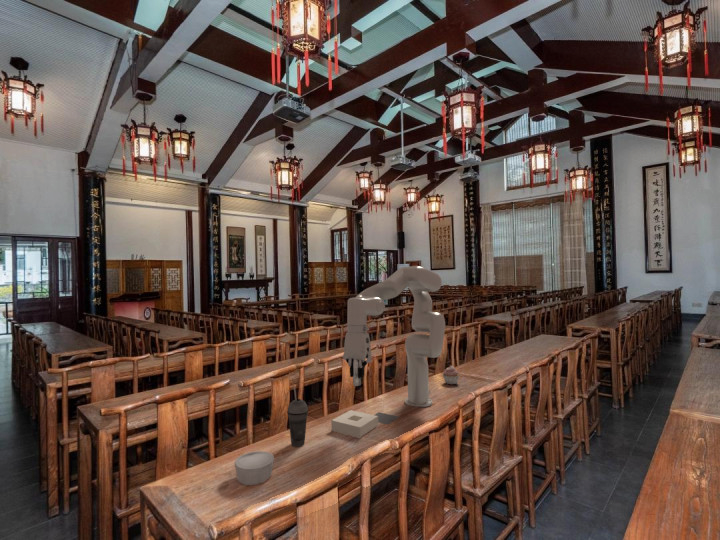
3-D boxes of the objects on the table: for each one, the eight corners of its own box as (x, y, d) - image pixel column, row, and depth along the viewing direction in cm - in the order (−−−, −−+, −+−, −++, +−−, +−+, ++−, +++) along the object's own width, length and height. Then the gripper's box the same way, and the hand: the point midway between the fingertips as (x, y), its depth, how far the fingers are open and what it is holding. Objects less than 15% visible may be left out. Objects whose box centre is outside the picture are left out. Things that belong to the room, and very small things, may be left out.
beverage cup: (304, 449, 127) (303, 390, 128) (284, 448, 129) (283, 389, 129) (311, 440, 134) (310, 384, 135) (292, 439, 136) (291, 383, 136)
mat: (378, 413, 161) (378, 412, 161) (399, 417, 156) (399, 416, 156) (366, 420, 153) (366, 419, 153) (388, 425, 147) (388, 424, 147)
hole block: (350, 419, 154) (350, 410, 154) (378, 426, 147) (378, 416, 147) (331, 430, 143) (331, 420, 143) (360, 438, 136) (360, 427, 136)
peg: (355, 383, 148) (355, 352, 148) (362, 384, 146) (362, 353, 147) (351, 385, 145) (351, 353, 146) (358, 386, 144) (358, 354, 144)
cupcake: (441, 381, 211) (441, 363, 211) (459, 381, 209) (458, 363, 210) (442, 385, 202) (442, 366, 202) (460, 386, 200) (460, 367, 200)
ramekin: (259, 464, 118) (259, 447, 118) (282, 475, 111) (282, 457, 111) (226, 479, 109) (226, 460, 109) (249, 492, 102) (249, 473, 102)
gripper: (380, 329, 145) (380, 377, 145) (345, 327, 154) (345, 372, 153) (369, 332, 139) (369, 382, 138) (334, 329, 148) (334, 376, 147)
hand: (356, 376), depth 146 cm, fingers closed on peg, 3 cm apart
